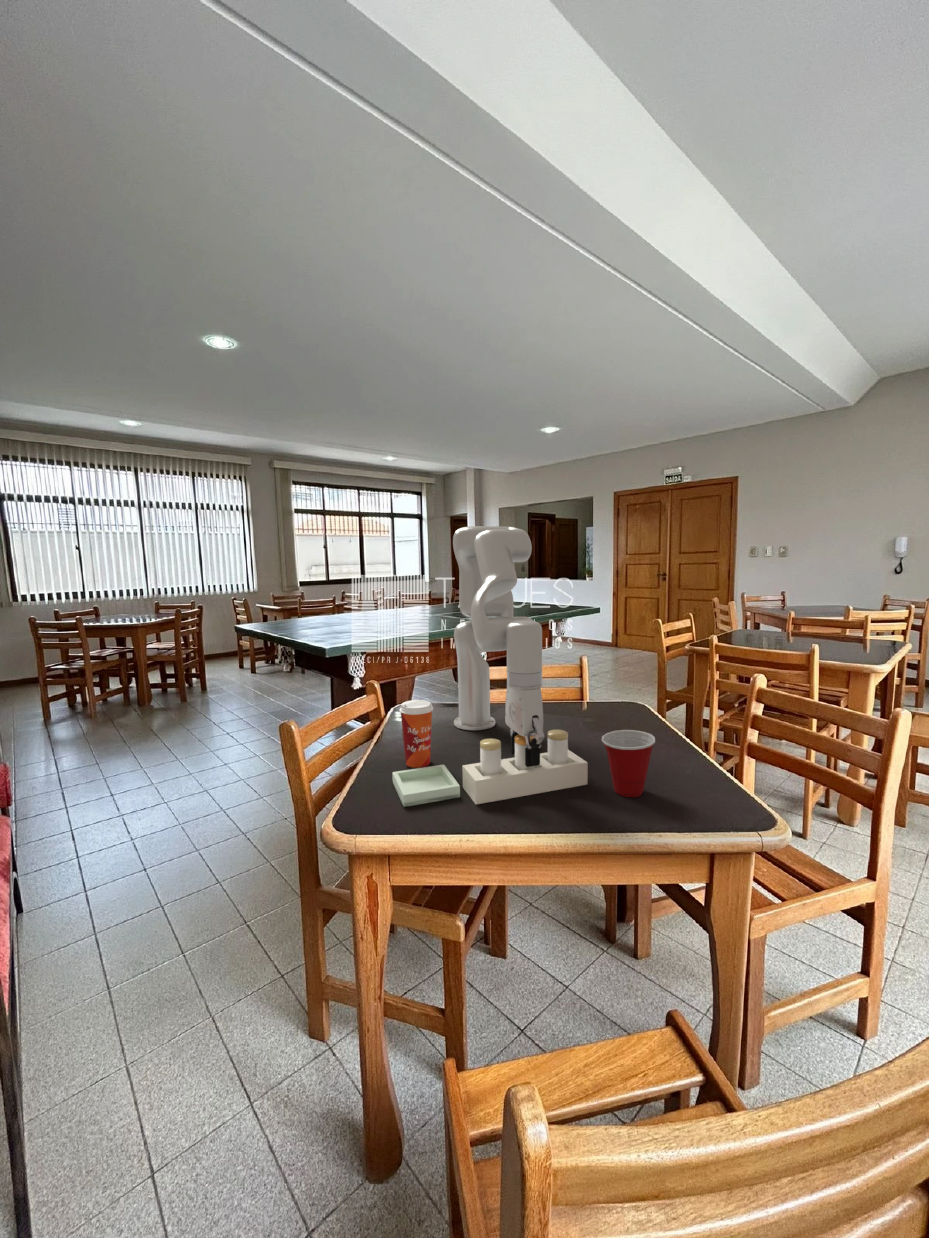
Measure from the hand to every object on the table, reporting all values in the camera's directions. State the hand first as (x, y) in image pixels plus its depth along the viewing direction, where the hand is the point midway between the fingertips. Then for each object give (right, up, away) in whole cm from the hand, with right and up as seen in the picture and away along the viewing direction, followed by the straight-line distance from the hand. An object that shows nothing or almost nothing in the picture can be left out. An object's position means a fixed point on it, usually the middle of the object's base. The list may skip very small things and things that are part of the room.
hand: (525, 758), depth 109 cm
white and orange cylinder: (0, -6, +1) cm, 6 cm away
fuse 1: (-7, -7, -2) cm, 10 cm away
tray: (-22, -7, 0) cm, 23 cm away
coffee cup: (-25, -5, +15) cm, 29 cm away
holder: (0, -6, +1) cm, 6 cm away
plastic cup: (+21, -6, -3) cm, 22 cm away
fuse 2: (+8, -6, +3) cm, 10 cm away
